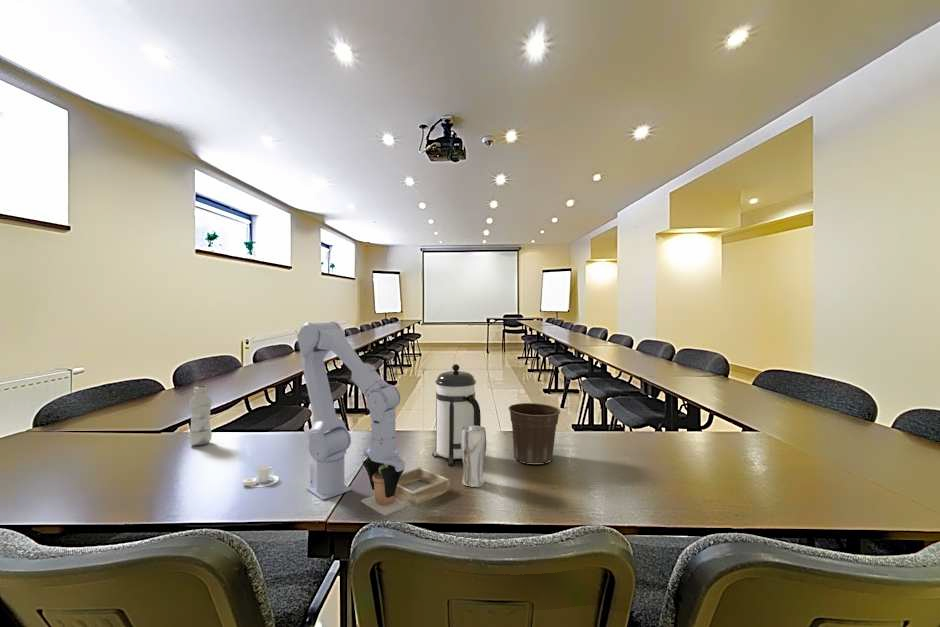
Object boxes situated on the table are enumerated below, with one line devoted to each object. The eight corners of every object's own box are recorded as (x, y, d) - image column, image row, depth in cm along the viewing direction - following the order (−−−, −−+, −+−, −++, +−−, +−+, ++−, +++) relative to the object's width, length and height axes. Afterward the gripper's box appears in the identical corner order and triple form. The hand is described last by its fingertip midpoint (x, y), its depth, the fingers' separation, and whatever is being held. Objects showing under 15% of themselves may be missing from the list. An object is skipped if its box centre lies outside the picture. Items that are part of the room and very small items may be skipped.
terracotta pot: (369, 499, 102) (366, 465, 102) (388, 490, 106) (386, 458, 106) (382, 507, 98) (380, 471, 98) (401, 497, 102) (399, 463, 102)
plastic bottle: (190, 442, 146) (190, 385, 145) (213, 440, 148) (213, 384, 148) (186, 448, 140) (186, 389, 139) (210, 446, 143) (210, 387, 142)
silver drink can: (471, 475, 119) (471, 423, 119) (490, 482, 115) (491, 428, 115) (455, 483, 114) (455, 429, 114) (475, 491, 110) (475, 434, 109)
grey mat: (361, 501, 103) (361, 500, 103) (381, 493, 107) (381, 492, 107) (384, 516, 96) (384, 514, 96) (405, 507, 100) (405, 505, 100)
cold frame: (384, 490, 109) (384, 479, 109) (420, 477, 118) (420, 467, 118) (413, 506, 101) (413, 494, 101) (449, 490, 109) (449, 479, 109)
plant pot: (556, 451, 141) (557, 403, 140) (562, 469, 124) (563, 416, 124) (508, 449, 142) (508, 402, 142) (507, 467, 126) (508, 414, 126)
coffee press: (424, 465, 127) (424, 366, 127) (440, 447, 143) (440, 360, 142) (479, 470, 123) (480, 369, 123) (489, 452, 139) (490, 362, 138)
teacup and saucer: (240, 490, 110) (240, 475, 109) (247, 478, 117) (247, 464, 117) (276, 487, 112) (276, 472, 112) (281, 475, 120) (281, 461, 119)
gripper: (415, 439, 99) (414, 496, 100) (380, 427, 109) (380, 478, 110) (390, 446, 94) (390, 506, 95) (356, 432, 104) (356, 486, 105)
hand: (383, 492), depth 102 cm, fingers closed on terracotta pot, 5 cm apart
